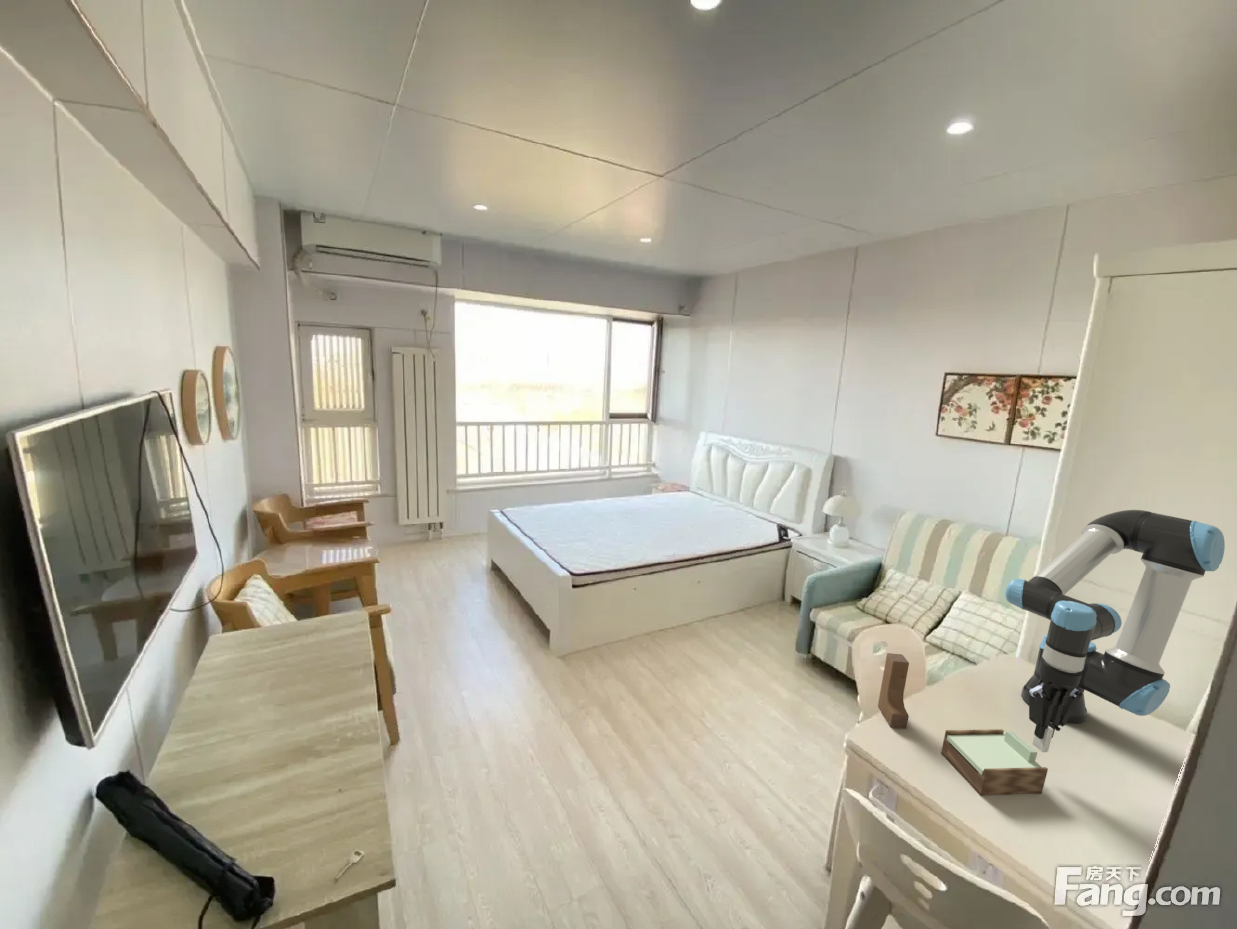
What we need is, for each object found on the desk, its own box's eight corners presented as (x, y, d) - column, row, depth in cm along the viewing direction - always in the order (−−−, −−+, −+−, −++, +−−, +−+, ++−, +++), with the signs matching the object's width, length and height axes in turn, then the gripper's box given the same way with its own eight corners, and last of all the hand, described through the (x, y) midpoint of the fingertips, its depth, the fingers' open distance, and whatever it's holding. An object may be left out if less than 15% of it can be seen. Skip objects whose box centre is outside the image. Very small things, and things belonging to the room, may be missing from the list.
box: (997, 752, 132) (1002, 729, 130) (1041, 793, 119) (1048, 769, 118) (941, 753, 130) (945, 730, 129) (980, 795, 118) (985, 770, 116)
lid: (1003, 738, 130) (1006, 725, 129) (1043, 773, 119) (1046, 759, 118) (946, 739, 128) (949, 725, 128) (981, 774, 117) (984, 760, 117)
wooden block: (906, 729, 138) (917, 672, 135) (890, 727, 139) (900, 670, 135) (892, 708, 147) (902, 653, 144) (877, 706, 148) (886, 652, 144)
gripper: (1070, 655, 124) (1049, 736, 128) (1023, 655, 123) (1003, 737, 127) (1101, 673, 116) (1078, 759, 121) (1051, 674, 115) (1029, 760, 120)
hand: (1040, 748), depth 124 cm, fingers closed
